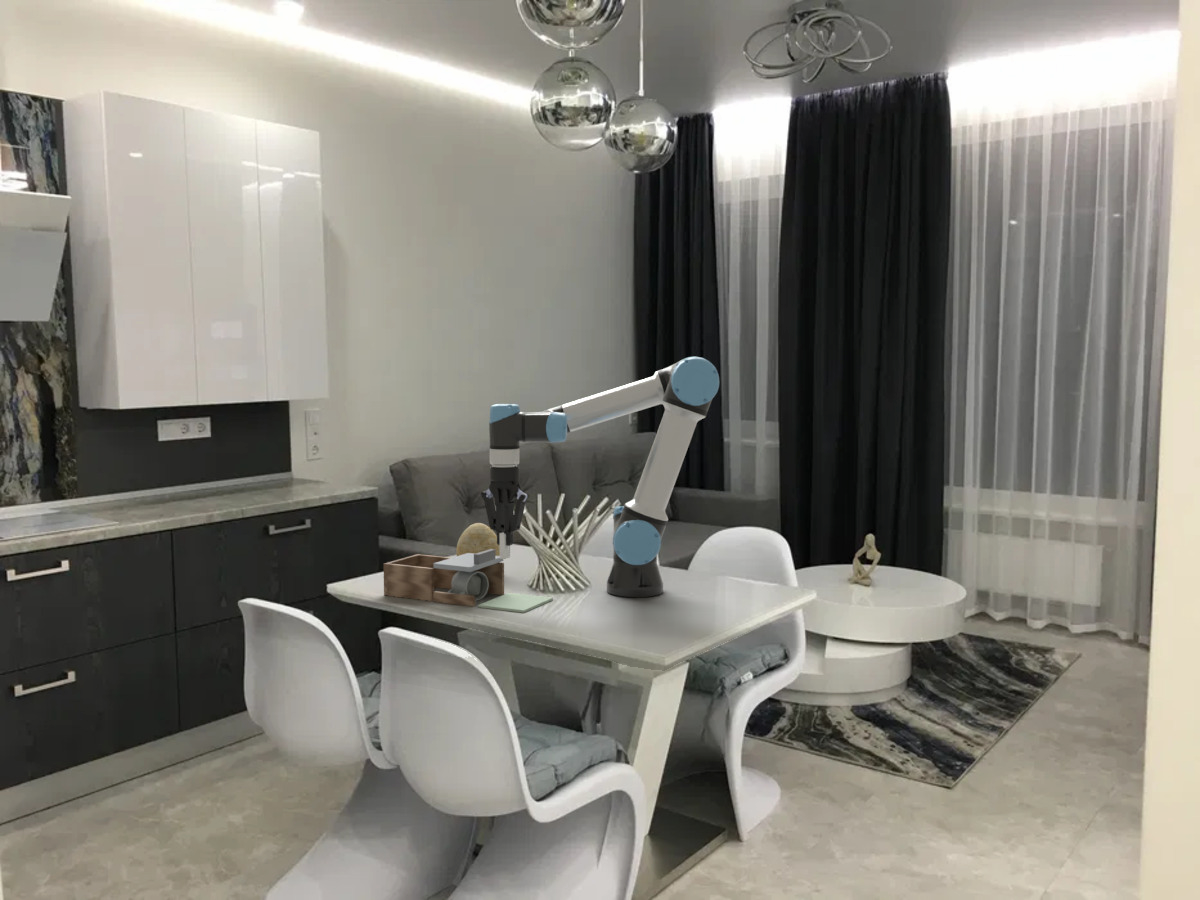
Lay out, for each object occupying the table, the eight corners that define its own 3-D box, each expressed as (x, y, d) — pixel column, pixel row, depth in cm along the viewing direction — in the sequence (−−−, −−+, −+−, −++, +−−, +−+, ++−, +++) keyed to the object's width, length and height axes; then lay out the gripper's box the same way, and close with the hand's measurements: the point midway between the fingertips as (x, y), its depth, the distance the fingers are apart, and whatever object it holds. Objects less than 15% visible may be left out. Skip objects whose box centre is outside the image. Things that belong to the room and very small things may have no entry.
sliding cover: (503, 560, 263) (503, 546, 263) (470, 572, 249) (470, 557, 248) (468, 557, 268) (467, 543, 267) (433, 568, 253) (433, 553, 253)
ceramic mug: (470, 593, 264) (469, 565, 264) (489, 597, 259) (488, 569, 258) (439, 600, 257) (438, 571, 256) (458, 605, 252) (457, 576, 251)
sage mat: (552, 600, 257) (552, 597, 257) (523, 612, 243) (523, 610, 243) (509, 594, 262) (509, 592, 262) (478, 607, 249) (478, 604, 249)
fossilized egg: (462, 569, 295) (461, 519, 294) (504, 570, 294) (504, 520, 292) (451, 578, 282) (451, 526, 281) (496, 579, 281) (495, 527, 280)
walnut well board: (504, 594, 263) (504, 562, 262) (473, 606, 250) (473, 573, 249) (417, 584, 275) (417, 554, 274) (384, 595, 261) (383, 563, 261)
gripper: (534, 465, 252) (534, 557, 254) (490, 462, 258) (490, 553, 259) (519, 467, 245) (519, 562, 247) (474, 465, 251) (475, 558, 253)
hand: (504, 557), depth 253 cm, fingers closed
